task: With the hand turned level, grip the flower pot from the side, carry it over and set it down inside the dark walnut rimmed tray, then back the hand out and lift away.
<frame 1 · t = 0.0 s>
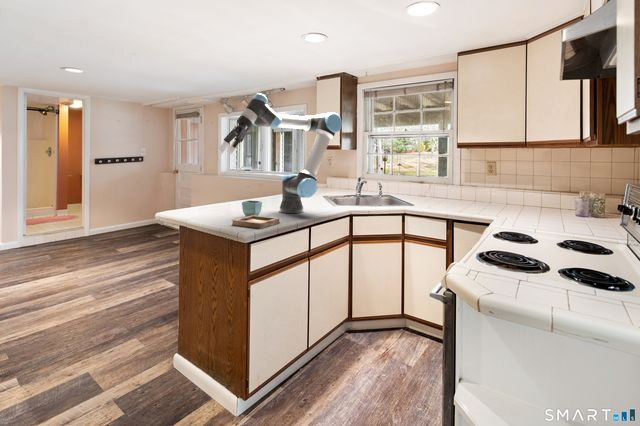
hand: (224, 152, 180), 36 cm above the table, tool tilted 35°, fingers open, 13 cm apart
walnut tray: (256, 224, 181), on the table
flower pot: (252, 217, 200), on the table
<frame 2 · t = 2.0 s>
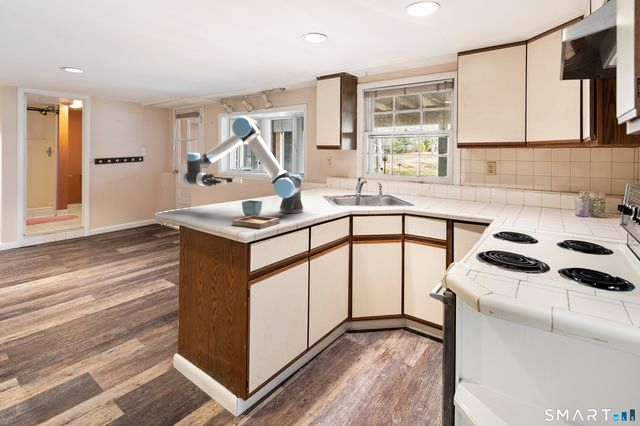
hand: (234, 181, 203), 19 cm above the table, tool horizontal, fingers open, 13 cm apart
nothing on the table moved.
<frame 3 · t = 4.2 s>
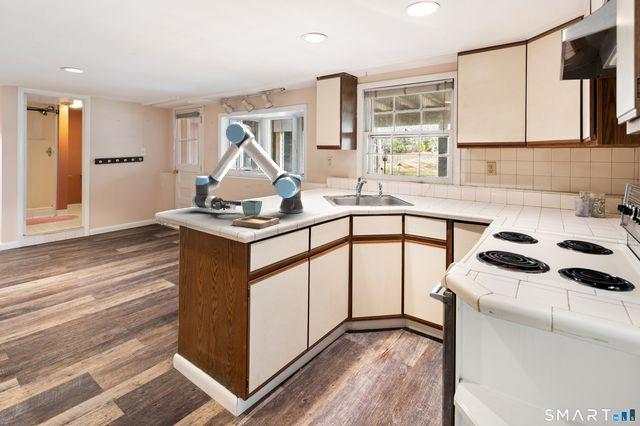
hand: (243, 206, 202), 6 cm above the table, tool horizontal, fingers open, 13 cm apart
nothing on the table moved.
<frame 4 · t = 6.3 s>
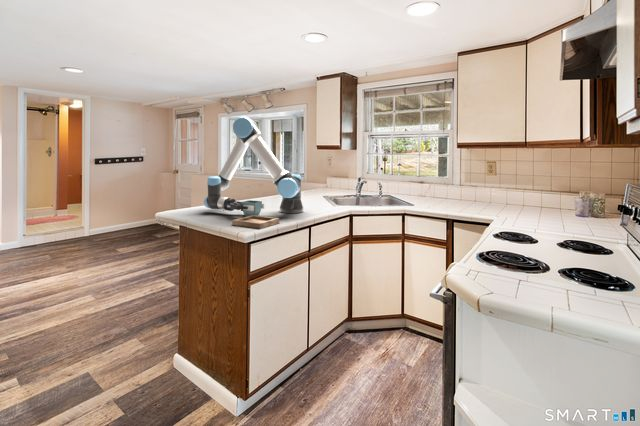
hand: (258, 207, 197), 6 cm above the table, tool horizontal, fingers closed on flower pot, 9 cm apart
flower pot: (252, 217, 200), on the table, touching gripper
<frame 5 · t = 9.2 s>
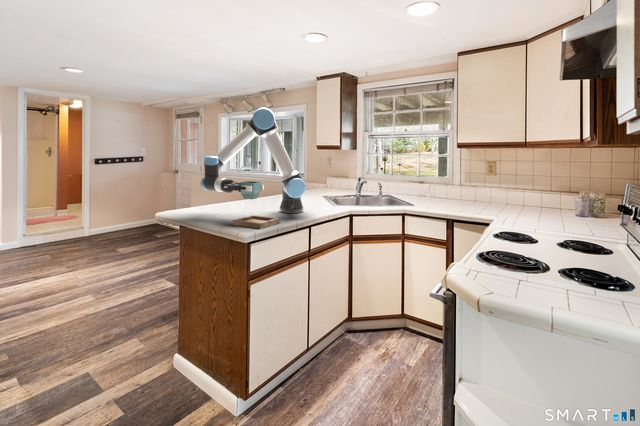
hand: (257, 188, 183), 18 cm above the table, tool horizontal, fingers closed on flower pot, 9 cm apart
flower pot: (250, 199, 186), point 12 cm above the table, touching gripper
when the fingers open (8 cm above the table, at t = 12.0 s): flower pot drops 1 cm, resting on walnut tray.
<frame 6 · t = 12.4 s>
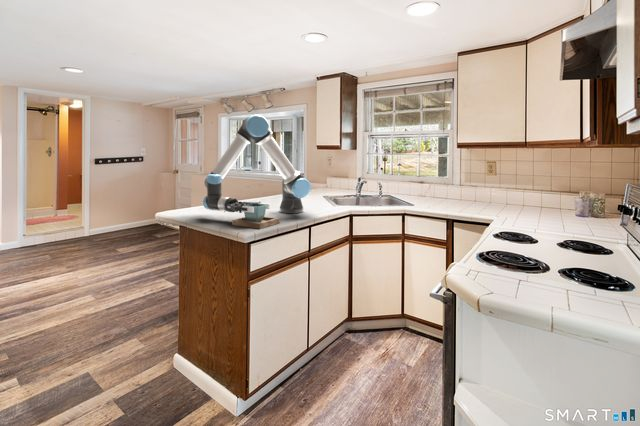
hand: (261, 208, 178), 8 cm above the table, tool horizontal, fingers open, 13 cm apart
flower pot: (255, 222, 181), point 1 cm above the table, touching walnut tray
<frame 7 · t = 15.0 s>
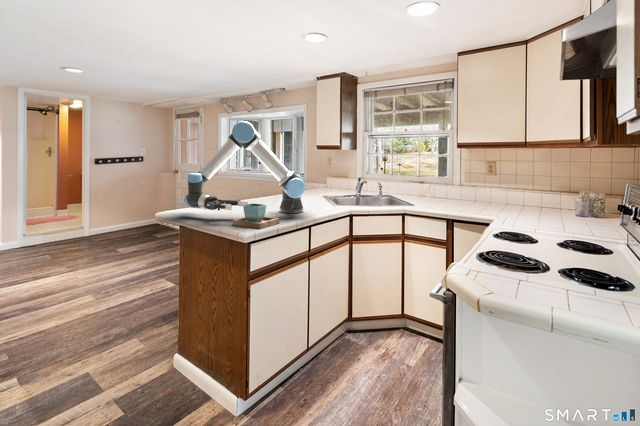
hand: (239, 205, 184), 9 cm above the table, tool horizontal, fingers open, 13 cm apart
nothing on the table moved.
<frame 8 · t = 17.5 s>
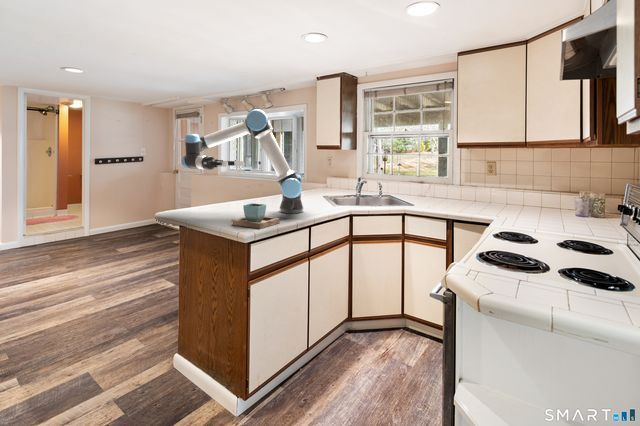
hand: (236, 163, 188), 30 cm above the table, tool horizontal, fingers open, 13 cm apart
nothing on the table moved.
at the end: flower pot inside the target area on the walnut tray (0.7 cm from its centre), point 0.8 cm above the walnut tray's base; flower pot tilted 0°; the gripper is holding nothing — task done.
